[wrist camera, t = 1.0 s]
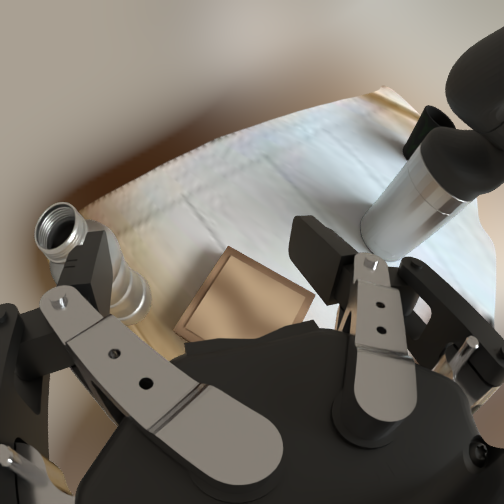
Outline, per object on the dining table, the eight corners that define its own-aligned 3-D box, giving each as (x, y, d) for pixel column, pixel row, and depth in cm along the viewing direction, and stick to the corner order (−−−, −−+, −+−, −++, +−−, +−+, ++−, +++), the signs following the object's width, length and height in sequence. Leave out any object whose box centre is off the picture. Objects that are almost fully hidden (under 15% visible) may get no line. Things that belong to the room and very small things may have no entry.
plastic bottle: (160, 281, 35) (111, 186, 17) (150, 334, 32) (77, 283, 14) (114, 273, 35) (41, 180, 16) (103, 323, 32) (6, 265, 14)
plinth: (227, 255, 38) (228, 244, 35) (308, 301, 36) (316, 294, 33) (176, 333, 33) (172, 329, 30) (263, 384, 31) (268, 385, 28)
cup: (397, 159, 50) (426, 118, 39) (398, 138, 54) (423, 99, 43) (427, 176, 50) (458, 139, 39) (426, 154, 53) (453, 119, 42)
